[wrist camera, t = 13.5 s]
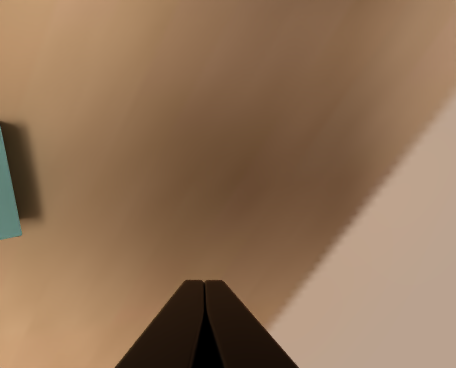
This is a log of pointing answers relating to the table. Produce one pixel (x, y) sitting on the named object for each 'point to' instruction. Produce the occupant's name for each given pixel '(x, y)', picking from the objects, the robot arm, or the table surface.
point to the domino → (7, 199)
